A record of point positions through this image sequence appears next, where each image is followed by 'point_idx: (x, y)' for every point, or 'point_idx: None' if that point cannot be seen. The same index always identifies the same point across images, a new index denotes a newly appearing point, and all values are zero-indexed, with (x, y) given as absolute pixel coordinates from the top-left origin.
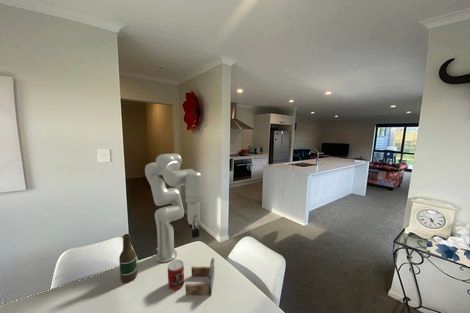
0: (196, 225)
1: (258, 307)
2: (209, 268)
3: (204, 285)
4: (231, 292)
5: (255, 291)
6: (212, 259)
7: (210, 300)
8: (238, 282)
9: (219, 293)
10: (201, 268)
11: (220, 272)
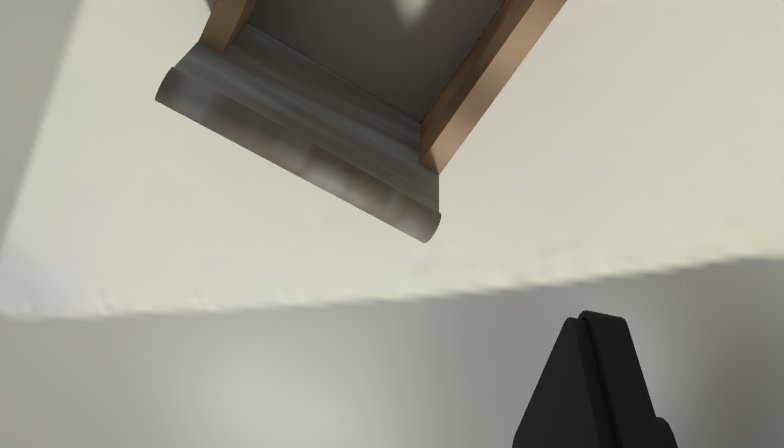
0: None
1: (9, 251)
2: (431, 145)
3: (215, 7)
4: (186, 177)
5: (135, 303)
6: (409, 223)
7: (170, 3)
8: (258, 261)
9: None
10: (479, 76)
11: None
